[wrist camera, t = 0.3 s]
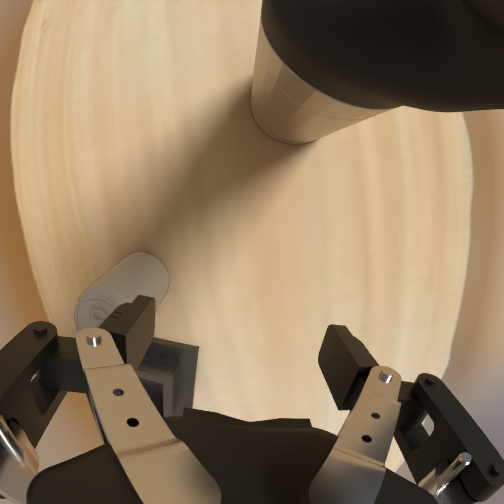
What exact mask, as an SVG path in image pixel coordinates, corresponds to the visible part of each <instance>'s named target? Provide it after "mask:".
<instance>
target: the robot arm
mask: <svg viewBox="0 0 504 504" xmlns="http://www.w3.org/2000/svg"><path fill="white" fill-rule="evenodd" d="M400 106H408V107H413V108H417V109H422V110H428V111H435V112H464V111H476V110H491V109H504V0H263V1H262V9H261V19H260V26H259V34H258V43H257V51H256V58H255V66H254V74H253V82H252V88H251V97H250V107H251V111H252V115H253V117H254V119H255V121H256V123H257V124H258V125H259V126H260V128H261V129H262V130H263V131H264V132H265V133H267V134H268V135H269V136H271V137H272V138H274V139H276V140H278V141H281V142H284V143H289V144H305V143H308V142H312V141H314V140H317V139H319V138H321V137H324V136H326V135H328V134H331V133H333V132H336V131H338V130H340V129H343V128H345V127H348V126H350V125H353V124H355V123H358V122H360V121H363V120H365V119H368V118H370V117H373V116H376V115H378V114H381V113H383V112H386V111H389V110H391V109H394V108H397V107H400ZM155 306H156V300H155V298H154V297H149V296H144V295H138V296H137V297H136V298H135V299H134V301H133V302H132V303H128V302H126V303H124V304H121V305H119V306H118V307H117V308H116V309H115V310H114V311H113V312H112V313H111V314H110V315H109V316H108V317H107V318H106V319H105V320H104V321H103V322H102V324H101V325H100V326H99V327H98V328H86V329H83V330H81V331H79V332H78V333H77V335H76V338H70V337H62V336H58V334H57V329H56V327H55V326H54V325H53V324H52V323H49V322H44V321H38V322H33V323H31V324H29V325H28V326H26V327H25V328H24V329H23V330H22V331H21V332H20V333H18V334H17V335H16V336H15V337H14V338H13V339H12V340H11V341H10V342H9V343H7V344H6V345H5V346H4V347H3V348H2V349H1V350H0V498H1V499H6V498H7V499H8V500H10V501H11V502H13V503H14V504H482V503H484V502H485V501H486V500H487V499H488V498H489V497H491V496H492V495H493V494H494V493H495V492H496V491H497V490H499V489H500V488H501V487H502V486H503V485H504V460H503V459H502V457H501V456H500V454H499V453H498V451H497V450H496V449H495V447H494V446H493V445H492V443H491V442H490V441H489V439H488V438H487V437H486V435H485V434H484V433H483V431H482V430H481V429H480V427H479V426H478V425H477V424H476V422H475V421H474V420H473V419H472V417H471V416H470V415H469V413H468V412H467V411H466V410H465V408H464V407H463V406H462V405H461V404H460V403H459V401H458V400H457V399H456V397H455V396H454V395H453V394H452V393H451V391H450V390H449V389H448V388H447V387H446V385H445V384H444V383H443V382H442V381H441V380H440V379H439V378H438V377H436V376H434V375H432V374H428V373H422V374H419V375H418V377H417V379H416V381H415V382H414V383H412V382H405V381H401V380H402V379H401V376H400V374H399V373H398V372H396V371H395V370H393V369H392V368H389V367H386V366H379V364H378V363H377V362H376V360H375V359H374V358H373V356H372V355H371V354H369V351H368V350H367V349H366V347H365V346H364V344H363V343H362V342H361V341H360V340H358V339H357V338H356V337H354V336H353V335H352V334H351V333H350V331H349V330H348V329H347V327H346V326H343V325H329V326H328V328H327V330H326V334H325V337H324V340H323V343H322V346H321V348H320V351H319V356H318V363H319V366H320V369H321V371H322V373H323V375H324V378H325V380H326V382H327V385H328V387H329V389H330V392H331V394H332V396H333V399H334V401H335V403H336V406H337V408H338V410H350V413H349V415H348V416H347V418H346V420H345V422H344V424H343V426H342V427H341V429H340V431H339V433H338V435H337V436H336V435H334V434H332V433H330V432H328V431H325V430H322V429H318V428H314V427H312V425H311V422H310V419H292V418H278V419H271V420H263V421H255V422H247V421H243V420H239V419H236V418H232V417H229V416H226V415H223V414H219V413H216V412H210V411H203V410H197V409H191V408H186V407H184V411H183V415H182V416H169V417H163V418H162V417H161V415H160V414H159V412H158V411H157V409H156V408H155V406H154V404H153V403H152V401H151V399H150V398H149V396H148V394H147V393H146V391H145V389H144V387H143V386H142V384H141V382H140V380H139V378H138V377H137V375H136V373H135V372H136V370H137V369H138V367H139V365H140V363H141V361H142V359H143V357H144V355H145V353H146V351H147V349H148V347H149V346H150V344H151V342H152V339H153V336H154V329H155ZM35 373H36V376H35V378H34V379H33V380H32V381H31V379H32V377H33V375H34V374H35ZM30 382H31V383H30ZM68 391H70V392H79V393H86V395H87V398H88V402H89V404H90V408H91V411H92V413H93V416H94V419H95V422H96V425H97V428H98V430H99V433H100V436H101V439H102V441H103V444H104V445H102V446H99V447H97V448H95V449H93V450H90V451H88V452H86V453H84V454H81V455H79V456H76V457H74V458H72V459H69V460H67V461H64V462H62V463H59V464H56V465H54V466H51V467H48V468H46V469H44V470H42V471H41V472H39V473H38V467H39V456H38V454H37V452H36V451H35V448H36V446H37V444H38V442H39V440H40V439H41V437H42V435H43V433H44V431H45V429H46V428H47V426H48V424H49V422H50V420H51V419H52V417H53V415H54V414H55V412H56V410H57V409H58V407H59V405H60V403H61V402H62V400H63V398H64V397H65V395H66V393H67V392H68ZM427 414H429V416H430V417H431V419H432V420H433V422H434V430H433V432H432V434H431V435H430V437H429V435H428V434H427V432H426V430H425V429H424V427H423V425H422V424H421V423H422V422H423V420H424V419H425V417H426V416H427ZM393 436H394V438H395V440H396V442H397V444H398V446H399V448H400V450H401V452H402V454H403V456H404V458H405V460H406V462H407V464H408V467H409V469H410V471H411V473H412V475H413V478H414V480H415V482H416V484H417V485H416V484H414V483H412V482H410V481H408V480H406V479H405V478H403V477H401V476H399V475H398V474H396V473H394V472H393V471H391V470H389V469H388V468H386V467H385V461H386V458H387V455H388V452H389V449H390V445H391V442H392V439H393Z"/></svg>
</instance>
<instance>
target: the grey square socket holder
mask: <svg viewBox="0 0 504 504" xmlns="http://www.w3.org/2000/svg"><path fill="white" fill-rule="evenodd" d="M198 351H199V347H198V346H193V345H187V344H182V343H177V342H173V341H168V340H163V339H159V338H154V337H153V339H152V342H151V344H150V346H149V347H148V349H147V351H146V353H145V355H144V357H143V359H142V361H141V363H140V365H139V367H138V369H137V370H136V372H135V373H136V375H137V377H138V378H139V380H140V382H141V384H142V386H143V387H144V389H145V391H146V393H147V394H148V396H149V398H150V399H151V401H152V403H153V404H154V406H155V408H156V409H157V411H158V412H159V414H160V415H161V417H162V418H163V417H169V416H182V415H183V411H184V407H186V408H191V409H192V408H193V398H194V388H195V378H196V369H197V360H198Z"/></svg>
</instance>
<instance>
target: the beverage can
mask: <svg viewBox="0 0 504 504" xmlns="http://www.w3.org/2000/svg"><path fill="white" fill-rule="evenodd" d="M168 287H169V277H168V273H167V270H166V268H165V267H164V265H163V264H162V263H161V261H160V260H159V259H157V258H156V257H155V256H153V255H151V254H148V253H144V252H136V253H132V254H130V255H128V256H127V257H126V258H124V259H123V260H122V261H120V262H119V263H118V264H117V265H115V266H114V267H113V268H112V269H110V270H109V271H108V272H107V273H105V274H104V275H103V276H102V277H100V278H99V279H98V280H97V281H96V282H94V283H93V284H92V285H91V286H89V287H88V288H87V289H86V290H85V291H84V292H83V293H82V294H81V296H80V298H79V301H78V304H77V305H76V308H75V312H74V318H75V323H76V327H77V329H78V331H81V330H83V329H86V328H98V327H99V326H100V325H101V324H102V322H103V321H104V320H105V319H106V318H107V317H108V316H109V315H110V314H111V313H112V312H113V311H114V310H115V309H116V308H117V307H118V306H119V305H121V304H124V303H126V302H128V303H132V302H133V301H134V299H135V298H136V297H137V296H138V295H144V296H149V297H154V298H155V300H156V306H155V311H156V310H157V308H158V306H159V304H160V303H161V301H162V299H163V298H164V296H165V294H166V293H167V290H168Z"/></svg>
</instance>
